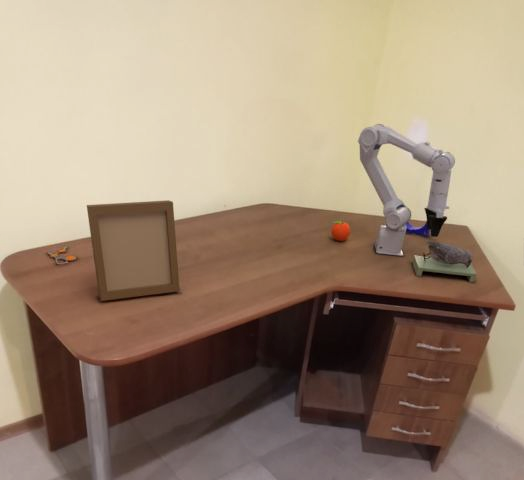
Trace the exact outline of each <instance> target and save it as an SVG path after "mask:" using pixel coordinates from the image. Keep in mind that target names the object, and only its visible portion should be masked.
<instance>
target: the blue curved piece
mask: <svg viewBox="0 0 524 480" xmlns="http://www.w3.org/2000/svg"><path fill="white" fill-rule="evenodd" d="M406 226H407V229H406V233H405V234H410V235H411V234H414V235H419V236H421V237H425V238H427V237H428V236H429V235H430V233H431V230H428V229H427V220H426V221H425V224H424V225H423V226H420V227H416V226H413V225H412V224H411V223H410V221H408V222H407V223H406Z"/></svg>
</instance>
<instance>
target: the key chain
mask: <svg viewBox="0 0 524 480" xmlns="http://www.w3.org/2000/svg"><path fill="white" fill-rule="evenodd" d="M67 249H68V245H65V246H63V247H62V249H58V252H57V253H52V252H50V251H48V252H46V254H48V256H50V258H54V259H55V263H56V265H66V264H68V263H69V262H71V261H72V262H73V261H75V260H76V259H77V257H76V256H75V255H68V256H62V255H61V254H60V253H65V252H67ZM58 260H64V261H65V262H58Z"/></svg>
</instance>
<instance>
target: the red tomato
mask: <svg viewBox="0 0 524 480" xmlns="http://www.w3.org/2000/svg"><path fill="white" fill-rule="evenodd" d="M333 224H334V225H333V226H332V227H331V225H329V226H328V227H331V236H332V237H333V239H334V240H335V241H340V242H344V241H346V240H347V239H348V238H349V237H350V235H351V227H350V225H349V224H348V223H347V222H346V221H340V220H339V221H334V222H333Z"/></svg>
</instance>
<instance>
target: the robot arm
mask: <svg viewBox="0 0 524 480" xmlns="http://www.w3.org/2000/svg"><path fill="white" fill-rule="evenodd" d="M357 142H358V145H359V160H360V163H361V165H362V166H363V169H364V170H365V173H366V174H367V176H368V178H369V181H370V182H371V184H372V186H373V189H374V190H375V192H376V194H377V196H378V197H379V200H380V202H381V203H382V206H383V207H382V209H383V210H382V214H383V216H384V222H385V225H379V227H378V230H377V235H376V238H375V243H374V247H375V252H376V254H380V255H391V256H397V257H398V256H399V257H403V256H404V253H403V245H404V240H405V236H406V234H407V233H406V229H407V226H406V223H407V222H410V221H411V219H412V211H411V209H410V208H409V207H408V206H407V205H405V202H404V200H402V199H400V198H399V197H398V195H397V194H396V191H395V190H394V187H393V186H392V184H391V182H390V180H389V178H388V176H387V174H386V172H385V170H384V167H383V166H382V164H381V162H380V159H379V158H378V155H379V152H380V149H381V147H382V145H388V144H389V145H392V146H395V147H396V148H399V149H401V150H403V151H406V152H407V153H410V154H411V157H412V159H413V160H414V161H417V162H418V163H421V164H423V165H424V166H426V167H428V168H431V171H432V176H431V182H430V189H429V195H428V200H427V201H428V203H427V205H426V207H424V212H425V216H426V221H427V229H428V230H430V237H432V238H438V237H439V234H440V232H441V229H442V227H443V226H444V224H445V223H446V221H447V220H448V216H445V215H444V214H445V211H446V210H449V209H450V205H448V204H447V201H448V194H449V190H450V183H451V176H452V169H453V168H454V166H455V164H456V158H455V156H454V154H452V153H451V152H450V151H444V150H443V149H442V148H440V149H438V148H436V147H434V146H432V145H431V143H430V142H429V141H425V142H424V141H420V142H418V143H417V142H416V141H414V140H411V139H410V138H408V137H407V136H405V135H403V134H401V133H399V132H398V131H396V130H395V129H392V127H390V126H385V125H384V124H382V123H377V124H374V125H370V126H367V127H364V128H363V129H362V130H361V132H360V134H359V137H358V139H357Z"/></svg>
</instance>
